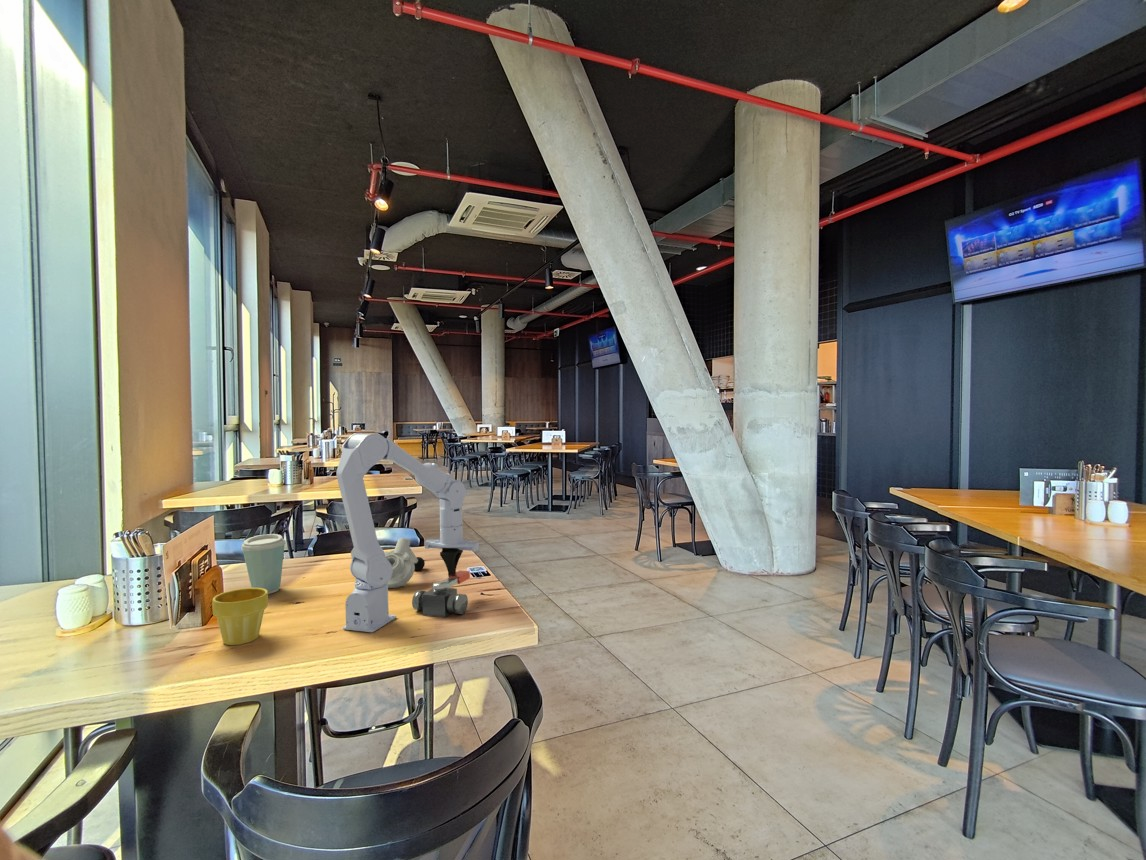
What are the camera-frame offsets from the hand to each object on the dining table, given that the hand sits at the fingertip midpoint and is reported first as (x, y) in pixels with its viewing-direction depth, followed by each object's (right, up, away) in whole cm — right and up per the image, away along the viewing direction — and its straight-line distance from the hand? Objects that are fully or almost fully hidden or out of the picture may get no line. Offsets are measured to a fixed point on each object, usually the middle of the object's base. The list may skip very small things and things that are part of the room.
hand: (452, 576), depth 142 cm
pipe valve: (-1, -6, -8) cm, 11 cm away
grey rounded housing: (-18, -6, +19) cm, 27 cm away
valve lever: (+1, -1, -4) cm, 4 cm away
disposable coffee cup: (-54, -7, +8) cm, 55 cm away
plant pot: (-41, -7, -23) cm, 47 cm away
